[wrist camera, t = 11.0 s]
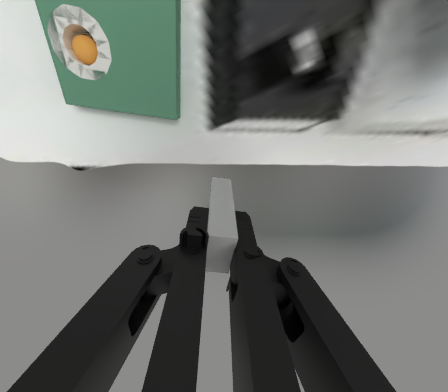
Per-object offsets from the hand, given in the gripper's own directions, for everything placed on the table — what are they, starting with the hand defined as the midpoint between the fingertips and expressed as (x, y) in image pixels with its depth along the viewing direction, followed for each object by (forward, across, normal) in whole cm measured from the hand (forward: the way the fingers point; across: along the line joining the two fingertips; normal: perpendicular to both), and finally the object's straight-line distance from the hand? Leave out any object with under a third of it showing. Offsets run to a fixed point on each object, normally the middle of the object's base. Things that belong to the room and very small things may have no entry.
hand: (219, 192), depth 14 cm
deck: (+28, -19, +10) cm, 35 cm away
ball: (+26, -24, +10) cm, 37 cm away
